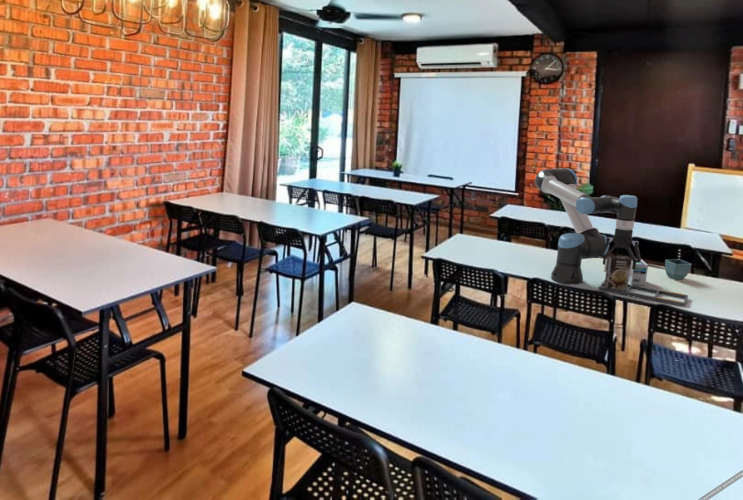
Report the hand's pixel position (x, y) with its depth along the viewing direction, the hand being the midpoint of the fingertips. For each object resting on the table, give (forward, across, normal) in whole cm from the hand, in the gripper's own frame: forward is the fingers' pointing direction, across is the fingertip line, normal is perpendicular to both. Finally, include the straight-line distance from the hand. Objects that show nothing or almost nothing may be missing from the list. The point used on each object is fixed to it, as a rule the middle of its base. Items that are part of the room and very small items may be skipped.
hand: (617, 273), depth 254 cm
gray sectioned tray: (+8, +12, 0) cm, 14 cm away
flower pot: (+8, +22, +39) cm, 45 cm away
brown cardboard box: (+8, 0, 0) cm, 8 cm away
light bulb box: (+8, +6, +19) cm, 22 cm away
